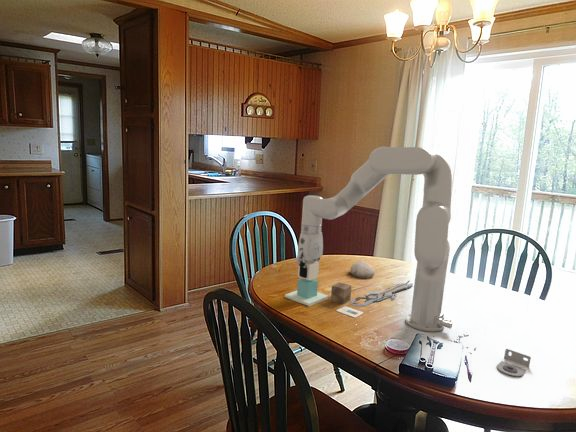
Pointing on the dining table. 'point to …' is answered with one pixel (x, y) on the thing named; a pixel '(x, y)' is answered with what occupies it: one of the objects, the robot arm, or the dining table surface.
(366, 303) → the gun
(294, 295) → the baseplate
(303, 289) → the teal brick
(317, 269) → the cream brick
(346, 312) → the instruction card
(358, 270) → the stone
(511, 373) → the bracket
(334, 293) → the walnut brick
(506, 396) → the dining table surface
